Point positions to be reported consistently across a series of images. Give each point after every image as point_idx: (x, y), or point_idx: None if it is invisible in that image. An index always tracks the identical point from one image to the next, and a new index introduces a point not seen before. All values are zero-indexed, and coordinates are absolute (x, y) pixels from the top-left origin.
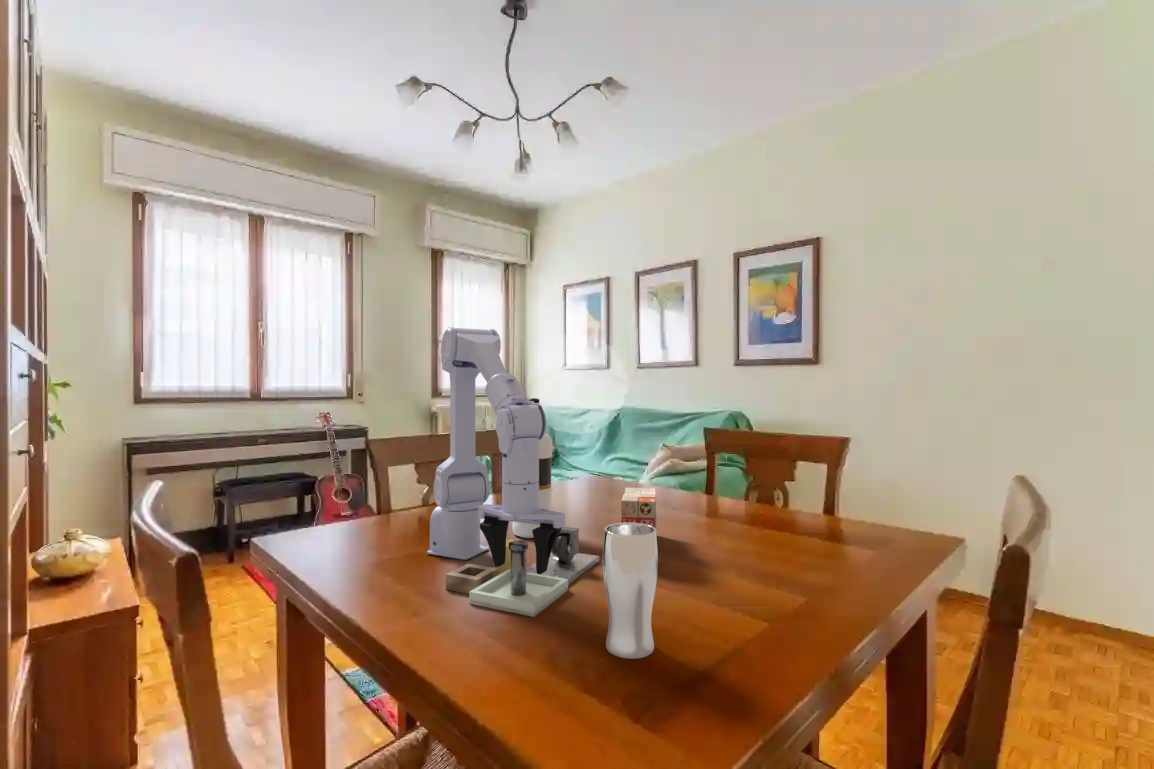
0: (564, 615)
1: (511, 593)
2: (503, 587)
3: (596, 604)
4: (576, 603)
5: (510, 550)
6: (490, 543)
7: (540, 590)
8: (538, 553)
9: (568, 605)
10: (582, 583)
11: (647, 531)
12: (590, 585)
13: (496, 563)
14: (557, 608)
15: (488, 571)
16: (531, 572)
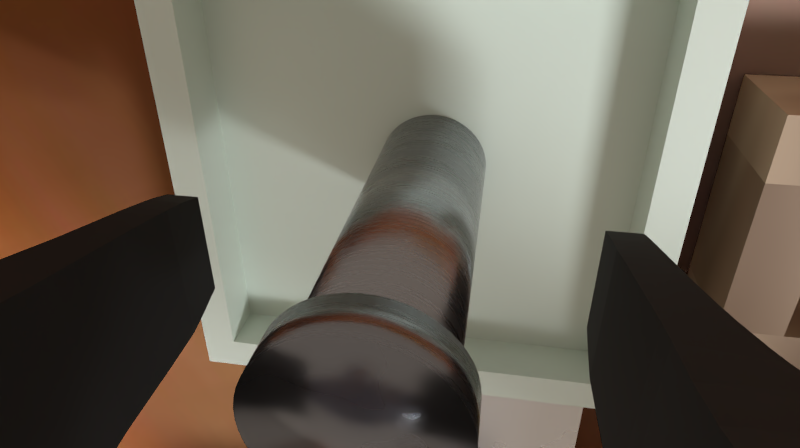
0: (39, 7)
1: (461, 126)
2: (577, 215)
3: (15, 207)
4: (98, 185)
5: None
6: (755, 368)
7: (329, 244)
8: (27, 268)
9: (114, 147)
10: (230, 407)
11: None
12: (185, 395)
13: (622, 242)
14: (135, 85)
15: (753, 308)
16: (501, 434)
